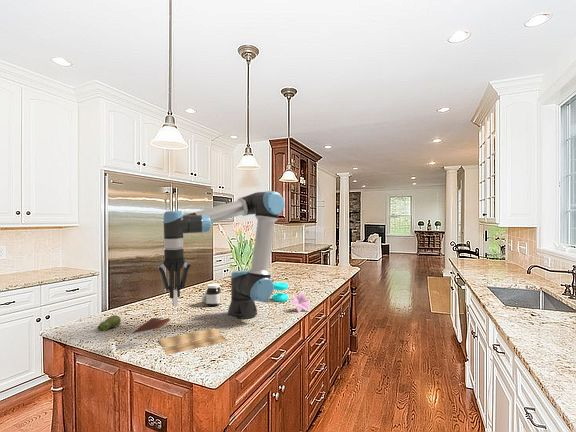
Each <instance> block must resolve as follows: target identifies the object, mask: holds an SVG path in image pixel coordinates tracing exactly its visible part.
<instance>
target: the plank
mask: <svg viewBox="0 0 576 432" xmlns="http://www.w3.org/2000/svg"><path fill="white" fill-rule="evenodd" d="M221 335H222V333H220V332H219V330H218V329H216V328H215V327H214V328H208V329H203V330H199V331H194V332H189V333H183V334H178V335H174V336H169V337H165V338H164V337H163V338H159V339H158V343H159V344H160V346H161V347H162V349H163V348H165V347H170V346H175V345H179V344H184V343H189V342H193V341H198V340H202V339H207V338H212V337H216V336H221Z"/></svg>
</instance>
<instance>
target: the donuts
mask: <svg viewBox="0 0 576 432" xmlns="http://www.w3.org/2000/svg"><path fill="white" fill-rule="evenodd" d="M273 284H274V290H275V291H280V292H277V293H274V294H272V295H271V298H272V300H273V301H275V302H286V301H288V300H289V295H288V294H286V293H283V291H285V290H287V289H289V284H288V283H287V282H278V281H277V282H273ZM281 291H282V292H281Z"/></svg>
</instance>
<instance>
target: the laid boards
mask: <svg viewBox="0 0 576 432" xmlns="http://www.w3.org/2000/svg"><path fill="white" fill-rule="evenodd" d="M228 341H229V339H227V338H226V337H225V336H223V334H221V335H219V336H215V337H210V338H205V339H201V340H196V341H191V342H187V343H182V344H178V345H173V346H168V347H164V348H163V347H162V349H163V350H164V352H165V353H166V355H168V356H169V355H172V354H176V353H177V354H178V353H180V352H182V353H183V352H185V351H190V350H195V349H198V348H203V347H206V346H207V347H208V346H212V345H216V344H217V345H218V344H220V343H221V344H222V343H224V342H226V343H227V342H228Z"/></svg>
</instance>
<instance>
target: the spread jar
mask: <svg viewBox="0 0 576 432" xmlns="http://www.w3.org/2000/svg"><path fill="white" fill-rule="evenodd" d="M220 285H221V284H220V283H213V282H212V283H208V284H207V288H206V291H205V292H204V293H203V295H202V296H201V302H202V303H204V304H206V306H207V307H217V306H218V307H219V306H220V305H221V303H222V292H221V291H222V289H221V288H220V287H221V286H220Z"/></svg>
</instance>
